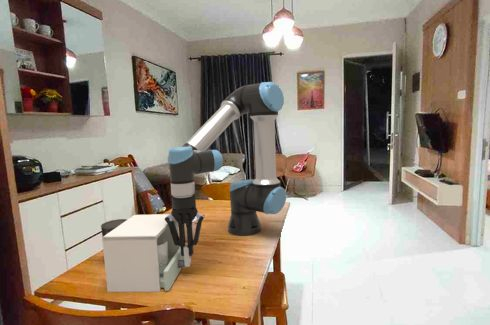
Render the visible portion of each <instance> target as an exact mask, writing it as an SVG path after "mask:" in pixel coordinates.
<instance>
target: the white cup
mask: <svg viewBox="0 0 490 325" xmlns="http://www.w3.org/2000/svg"><path fill="white" fill-rule="evenodd" d="M157 251H158V263H159V275H160V274H163V271H164V270H165V268H166V267H167V265H168V240H167V239H166V238H162V237H158V238H157Z"/></svg>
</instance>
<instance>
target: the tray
mask: <svg viewBox="0 0 490 325" xmlns="http://www.w3.org/2000/svg"><path fill="white" fill-rule="evenodd" d="M185 242H186V243H185V245H186V244H188V241H185ZM179 247H180V246H179ZM183 268H187V267H185V262H184V256H181V247H180V248H179V249H178V251H177V252H176V254H168V265H167V267H166V268H165V270H164V271H163V274H160V275H159V276H160V289H163V288H164V291H165V292H166V291H167V292H168V291H170V289H171V287H172V286H173V284H174V282H175V281H176V279H177V277H178V276H179V274H180V271H182V269H183Z"/></svg>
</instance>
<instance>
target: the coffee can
mask: <svg viewBox="0 0 490 325" xmlns="http://www.w3.org/2000/svg"><path fill="white" fill-rule="evenodd" d="M128 219H129V218H127V219H125V218H119V219H112V220H108V221H106V222H104V223H101V225H100V228H101V236H102V237H104V236H105V235H106V234H108V233H109V232H111V231H112V230H114V229H115V228H116V227H118V226H119V225H121V224H122V223H123V222H125V221H126V220H128ZM102 237H101V238H102Z"/></svg>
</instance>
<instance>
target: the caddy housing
mask: <svg viewBox="0 0 490 325" xmlns="http://www.w3.org/2000/svg"><path fill="white" fill-rule="evenodd" d="M170 214H171V213H164V214H163V213H157V214H156V213H155V214H133V215H132V216H130V217H129V218H127V219H128V220H126V221H125V222H123V223H122V224H121V225H119V226H118V227H116V228H115V229H114V230H112V231H111V232H109V233H108V234H106V235H105V236H104V237H101V239H102V240H101V241H102V251H103V259H104V261H103V262H104V267H105V268H104V270H105V280H106V290H107V293H113V292H114V293H129V292H130V293H136V292H137V293H141V292H142V293H146V292H147V293H149V292H150V293H151V292H152V293H153V292H161V291H162V290H161V289H162V288H160V276H159V263H158V251H157V238H158V237H162V238H166V239H167V240H168V254H176V252H177V251H178V249H179V248H180V246H178V245H175V244H174V241H173V238H172V235H171V232H170V229H169V226H168V224H167V222H166V221H165V218H166V217H167V216H168V215H170ZM173 218H174V217H173ZM173 221H174V223H175V227H176V230H177V233H178V236H179V227H178V222H177V221H176V220H175V219H174V220H173Z"/></svg>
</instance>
